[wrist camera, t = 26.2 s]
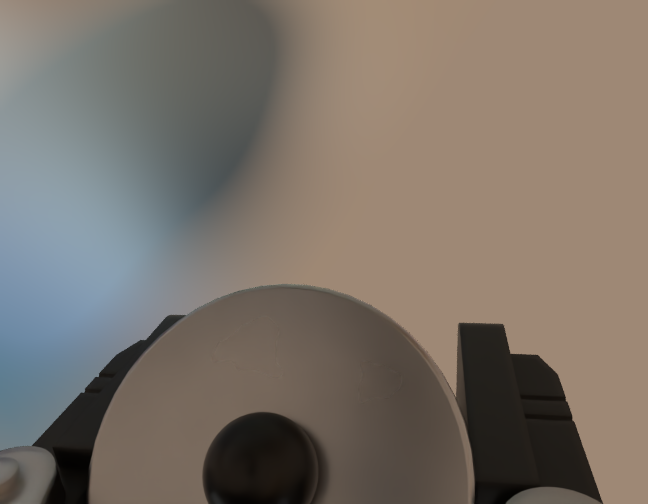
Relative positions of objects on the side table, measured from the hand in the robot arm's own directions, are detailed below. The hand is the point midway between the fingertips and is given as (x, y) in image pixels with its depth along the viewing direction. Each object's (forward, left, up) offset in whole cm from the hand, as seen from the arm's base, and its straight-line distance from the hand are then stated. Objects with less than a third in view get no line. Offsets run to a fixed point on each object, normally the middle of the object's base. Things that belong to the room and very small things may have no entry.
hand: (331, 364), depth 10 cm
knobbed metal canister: (+4, +2, +2) cm, 5 cm away
